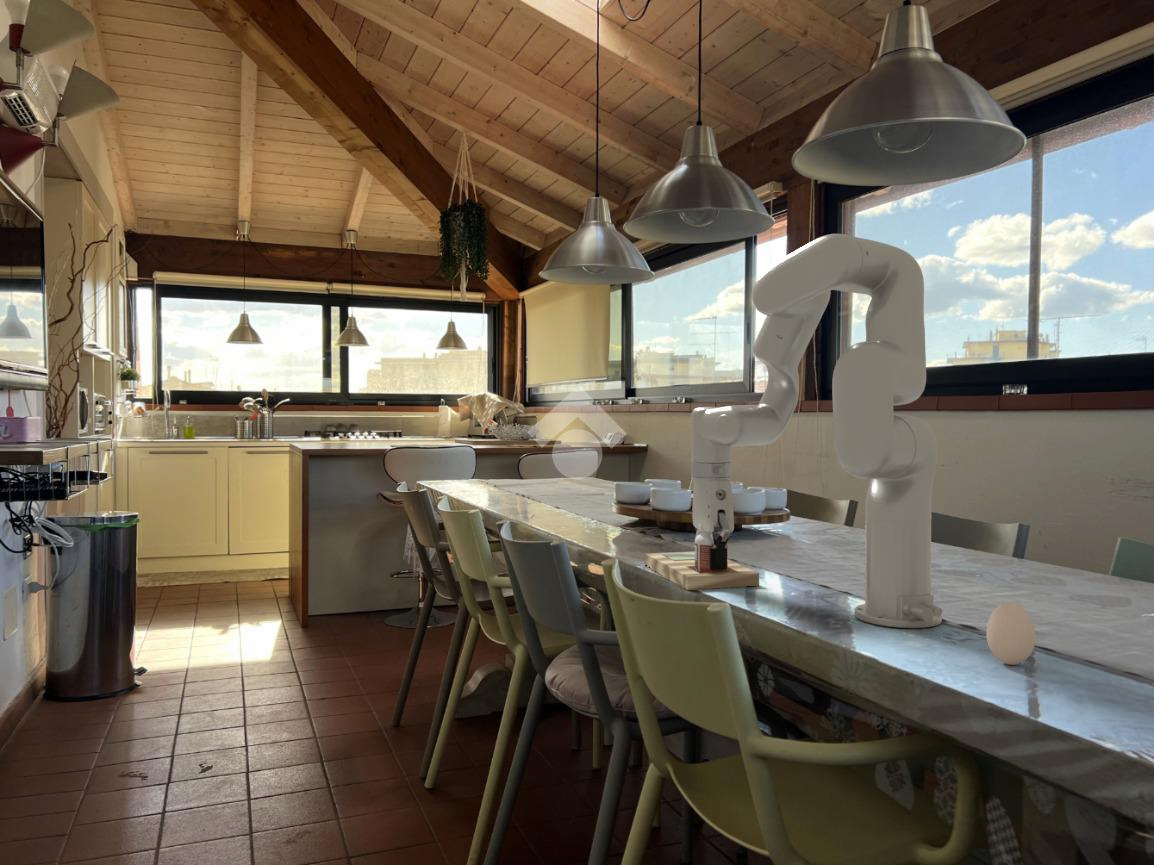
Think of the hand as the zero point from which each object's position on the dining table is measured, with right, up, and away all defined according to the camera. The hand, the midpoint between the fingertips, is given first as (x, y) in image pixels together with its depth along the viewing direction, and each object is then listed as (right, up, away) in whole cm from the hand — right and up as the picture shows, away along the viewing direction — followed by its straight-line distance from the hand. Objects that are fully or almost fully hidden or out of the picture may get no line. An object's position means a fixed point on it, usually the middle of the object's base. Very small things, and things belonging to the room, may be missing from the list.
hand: (711, 565), depth 158 cm
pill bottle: (0, -3, 0) cm, 3 cm away
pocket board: (-2, -3, +7) cm, 8 cm away
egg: (+29, -4, -53) cm, 61 cm away
